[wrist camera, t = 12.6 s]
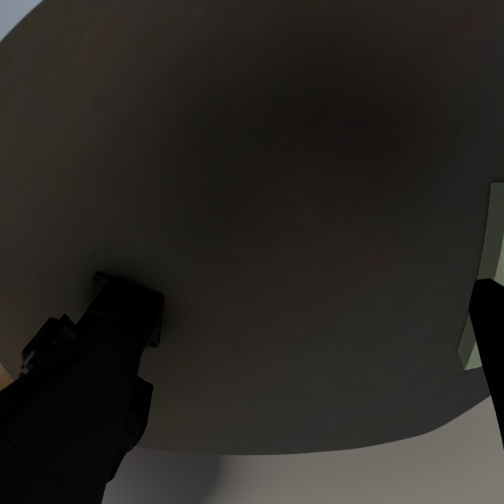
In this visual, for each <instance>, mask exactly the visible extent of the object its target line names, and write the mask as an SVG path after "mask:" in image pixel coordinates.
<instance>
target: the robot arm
mask: <svg viewBox="0 0 504 504" xmlns="http://www.w3.org/2000/svg"><path fill="white" fill-rule="evenodd" d="M98 278H99V279H98ZM92 281H93V297H94V300H93V302H92V303H91V304H90V306H89V307H88V308H87V310H86V312H85V313H84V314H83V316H82V317H81V319H80V320H79V321H78V323H77V324H76V325H75V324H74V323H73V322H72V321H71V320H69V319H70V318H69V317H68V316H67V315H66V314H64V315H63V316H62V317H61V319H60V320H58V319H55V318H51V317H50V318H49V319H48V320H47V322H46V323H45V324H44V325H43V327H42V328H41V329H40V330H39V332H38V333H37V334H36V335H35V336H34V337H33V339H32V340H31V341H30V342H29V343H28V345H27V346H26V347H25V348H24V350H23V351H22V352H21V357H22V363H23V365H22V366H21V369H22V372H21V373H20V375H19V376H18V379H17V380H16V381H14V382H13V383H11V384H10V385H8V386H7V387H6V388H4V389H3V390H1V391H0V504H101V503H102V499H103V495H104V491H105V487H106V483H108V482H109V481H111V480H112V479H113V478H114V476H115V474H116V472H117V470H118V467H119V465H120V463H121V461H122V459H123V457H124V456H125V454H126V453H127V452H129V451H130V450H132V449H133V448H134V447H135V445H136V444H137V443H138V442H139V440H140V439H141V437H142V435H143V433H144V431H145V428H146V425H147V421H148V415H149V409H150V403H151V397H152V392H153V385H152V384H150V383H149V382H146V381H144V380H143V379H142V378H140V377H139V376H138V375H137V373H138V368H139V364H140V359H141V355H142V353H143V351H144V349H145V347H146V346H149V347H152V348H157V347H158V345H159V341H160V331H161V322H162V313H163V304H164V298H163V296H162V295H161V294H158V293H156V292H153V291H150V290H147V289H144V288H141V287H138V286H135V285H132V284H130V283H127V282H124V281H121V280H118V279H116V278H113V277H110V276H108V275H105V274H102V273H99V272H96V273H95V274H94V275H93V277H92ZM156 299H158V300H159V301H158V300H156ZM469 315H470V319H471V323H472V327H473V330H474V334H475V338H476V342H477V347H478V351H479V355H480V360H481V364H482V367H483V370H484V374H485V377H486V380H487V383H488V387H489V390H490V394H491V397H492V401H493V404H494V408H495V412H496V416H497V420H498V424H499V429H500V433H501V438H502V443H503V448H504V286H503V285H501V284H499V283H498V282H496V281H494V280H492V279H491V278H485V279H479V280H477V281H476V282H475V284H474V287H473V291H472V295H471V300H470V304H469Z"/></svg>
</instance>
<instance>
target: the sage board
mask: <svg viewBox="0 0 504 504" xmlns="http://www.w3.org/2000/svg"><path fill="white" fill-rule="evenodd" d="M485 278H491V279H492V280H494V281H496V282H498V283H499V284H501V285H503V286H504V182H500V183H491V188H490V199H489V209H488V217H487V225H486V232H485V239H484V245H483V251H482V256H481V262H480V267H479V272H478V276H477V280H479V279H485ZM457 351H458V353H459V356H460V358H461V361H462V364H463V366H464V369H465V370H468V369H472V368H477V367H481V366H482V364H481V360H480V355H479V351H478V347H477V342H476V338H475V334H474V330H473V327H472V323H471V319H470V315H469V313H468V317H467V321H466V324H465V328H464V331H463V334H462V337H461V341H460V344H459V347H458V350H457Z"/></svg>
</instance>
